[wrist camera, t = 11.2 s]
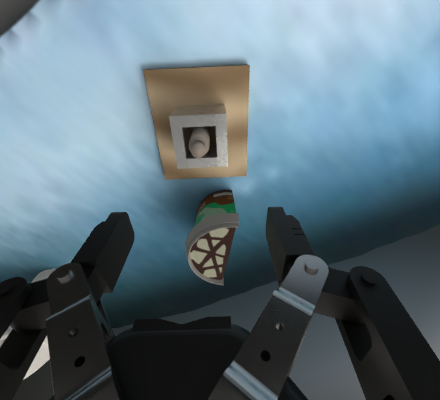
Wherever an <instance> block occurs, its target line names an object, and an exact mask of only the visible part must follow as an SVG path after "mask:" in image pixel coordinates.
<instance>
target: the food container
mask: <svg viewBox="0 0 440 400" xmlns="http://www.w3.org/2000/svg"><path fill="white" fill-rule="evenodd" d="M238 223H239V218H238V213H236V209H235V204H234V198H233V193H232V190H223V191H218V192H214V193H212V194H210V195H208V196H207V197H206V198H205V199H204V200H203V201H201V203H200V205H199V208H198V212H197V216H196V221H195V225H194V228H193V229H192V230H191V231H190V233H189V234H188V237H187V239H186V255H187V260H188V262H189V265H190V267H191V269H192V270H193V271H194V273H195V274H196V275H198V276H199V277H200V278H202V279H204V280H206V281H208V282H210V283H214V284H218V285H223V276H224V271H225V267H226V264H227V260H228V257H229V253H230V249H231V244H232V240H233V236H234V232H235V228H239V225H238Z"/></svg>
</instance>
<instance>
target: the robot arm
mask: <svg viewBox="0 0 440 400" xmlns="http://www.w3.org/2000/svg"><path fill="white" fill-rule="evenodd" d="M266 238H267V242H268V246H269V250H270V253H271V257H272V261H273V265H274V268H275V272H276V276H277V280H278V283H279V287H280V289H279V290H278V289H276V290H275V291H274V293H273V295H272V296H271V298H270V300H269V301H268V303H267V305H266V306H265V308H264V310H263V311H262V313H261V315H260V317H259V318H258V320H257V322H256V323H255V325H254V327H253V328H252V331H251V332H249V331H247V330H246V329H244V328H242V327H240V326H237V325H234V324H231V317H230V316H226V317H206V318H202V319H199V320H196V321H192V322H189V323H186V324H177V323H174V322H170V321H166V320H162V319H135V322H134V325H133V328H130V329H128V330H125V331H123V332H121V333H120V334H118V335H116V336H115V335H114V333H113V331H112V328H111V325H110V323H109V320H108V317H107V314H106V312H105V309H104V306H103V303H102V301H101V299H100V298H101V296H102V294H103V293H112V292H113V289H114V287H115V285H116V282H117V280H118V278H119V275H120V273H121V271H122V268H123V266H124V264H125V261H126V259H127V257H128V254H129V252H130V250H131V247H132V245H133V243H134V231H133V228H132V225H131V222H130V219H129V216H128V214H127V213H126V212H112V213H111V214H110V215H109V217H108V218H107V220H106V221H105V222H101V223H100V224H99V225H97V226H96V227H95V228H94V229H93V231H92V232H91V234H90V236H89V237H88V238H87V240H86V242H84V244H83V245H82V247H81V248H80V250H79V251H78V253H77V254H76V256H75V257H74V259H73V260H72V261H71V263H68V264H65V265H62V266H60V267H59V268H57V269H56V270H54V271H53V272H52V273H51V274H50V275H49V277H48V278H47V279H43V280H40V281H36V282H33V283H28V282H27V281H26V280H25V279H24V278H22V277H15V278H11V279H8V280H5V281H3V282H1V283H0V339H1V337H2V336H3V334H4V333H5V331H6V330H7V328H8V327H9V326H11V327H12V328H13V329H12V330H11V332H10V333H9V335H8V336H7V338H6V339H5V341H4V342H3V344H2V345H1V347H0V400H12V399H13V397H14V396H15V394H16V392H17V390H18V388H19V386H20V384H21V382H22V381H23V379H24V377H25V375H26V373H27V371H28V370H29V368H30V366H31V364H32V362H33V360H34V358H35V357H36V355H37V353H38V351H39V349H40V347H41V345H42V343H43V342H44V340H45V338H46V336H47V339H48V348H49V356H50V364H51V373H52V381H53V389H54V395H53V396H52V397H51V398H50V399H49V400H308V399H307V398H306V396H305V395H304V394H303V393H302V392H301V390H300V389H299V388H298V387H297V386H296V384H295V383H294V382H293V381H292V380H291V379H290V378H289V374H290V372H291V369H292V367H293V364H294V362H295V359H296V357H297V354H298V351H299V349H300V346H301V344H302V341H303V339H304V336H305V334H306V331H307V329H308V326H309V324H310V321H311V318H312V315H313V313H314V312H315V313H319V314H322V315H326V316H329V317H333V318H335V319H336V322H337V324H338V327H339V330H340V332H341V335H342V338H343V340H344V343H345V346H346V348H347V350H348V353H349V356H350V359H351V361H352V364H353V366H354V369H355V372H356V374H357V377H358V380H359V382H360V384H361V387H362V390H363V393H364V395H365V398H366V400H440V361H439V359H438V358H437V356H436V355H435V353H434V352H433V350H432V349H431V347H430V346H429V344H428V343H427V341H426V340H425V338H424V337H423V335H422V334H421V332H420V331H419V329H418V328H417V326H416V325H415V323H414V322H413V320H412V319H411V317H410V315H409V314H408V313H407V311H406V310H405V308H404V307H403V305H402V303H401V302H400V301H399V299H398V297H397V296H396V295H395V293H394V291H393V290H392V289H391V287H390V285H389V284H388V283H387V281H386V279H385V278H384V277H383V276H382V275H381V274H380V273H378V272H376V271H375V270H373V269H371V268H368V267H362V266H357V267H354V268H352V269H351V271H350V273H349V272H344V271H340V270H336V269H332V268H329V267H327V265H326V263H325V262H324V261H323V260H321V259H320V258H318V257H316V256H315V254H314V252H313V250H312V248H311V246H310V244H309V242H308V240H307V238H306V236H305V233H304V231H303V229H302V227H301V225H300V223H299V221H298V220H297V219H296V218H294V217H293V216H292V215H286V214H285V212H284V210H283V207H268V212H267V221H266Z"/></svg>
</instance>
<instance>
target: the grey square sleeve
mask: <svg viewBox="0 0 440 400" xmlns="http://www.w3.org/2000/svg"><path fill="white" fill-rule="evenodd" d="M169 120H170V126H171V132H172V138H173V144H174V151H175V157H176V163H177V169H184V168H205V167H225V166H228V152H227V114H226V108H225V104H217V105H198V106H178V107H175V109H174V110H173V111H172V113H171V114H170V116H169ZM202 126H216V143H209V150H208V152H207V153H206V154H205V155H204V156H203V157H201V158H196V157H194V156H193V155H192V153H191V151H190V150H189V141H190V138H189V130H188V127H202Z"/></svg>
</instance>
